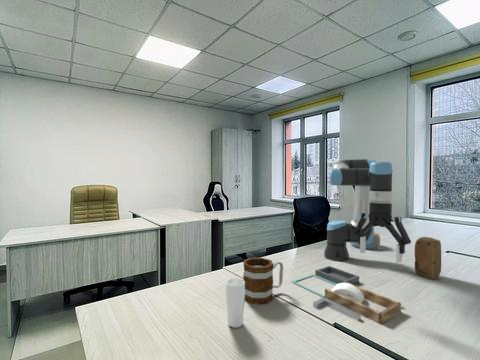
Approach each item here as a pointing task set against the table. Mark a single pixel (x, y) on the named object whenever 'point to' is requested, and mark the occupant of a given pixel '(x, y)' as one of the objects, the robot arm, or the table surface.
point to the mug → (260, 280)
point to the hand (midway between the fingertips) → (379, 257)
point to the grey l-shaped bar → (336, 307)
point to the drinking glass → (235, 301)
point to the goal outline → (310, 289)
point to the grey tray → (336, 275)
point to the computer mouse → (349, 292)
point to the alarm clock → (371, 246)
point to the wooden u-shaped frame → (380, 317)
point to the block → (428, 257)
